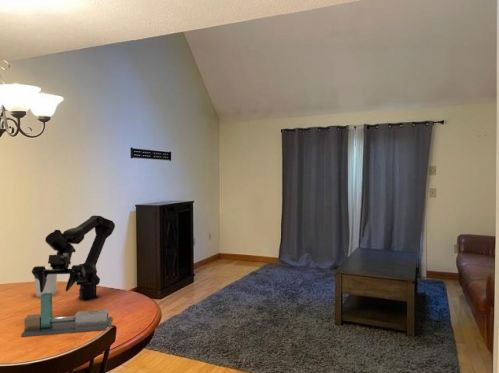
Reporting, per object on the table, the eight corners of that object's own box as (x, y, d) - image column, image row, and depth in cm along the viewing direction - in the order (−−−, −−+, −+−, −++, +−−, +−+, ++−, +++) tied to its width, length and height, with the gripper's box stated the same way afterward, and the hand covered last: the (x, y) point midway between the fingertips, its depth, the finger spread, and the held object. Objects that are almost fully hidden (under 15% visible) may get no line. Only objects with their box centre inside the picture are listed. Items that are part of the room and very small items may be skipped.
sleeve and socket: (112, 319, 147) (112, 306, 147) (108, 329, 138) (108, 315, 137) (31, 325, 141) (31, 312, 141) (21, 336, 131) (21, 322, 131)
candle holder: (62, 292, 180) (62, 267, 180) (45, 298, 171) (44, 272, 170) (46, 290, 183) (46, 266, 183) (29, 296, 174) (28, 270, 173)
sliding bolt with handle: (84, 321, 142) (83, 290, 141) (82, 324, 139) (81, 293, 138) (31, 325, 138) (31, 294, 138) (29, 328, 135) (28, 296, 135)
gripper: (33, 246, 148) (20, 282, 137) (82, 245, 150) (74, 280, 140) (41, 261, 156) (30, 296, 145) (88, 259, 158) (81, 294, 148)
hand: (53, 291), depth 144 cm, fingers open, 9 cm apart
